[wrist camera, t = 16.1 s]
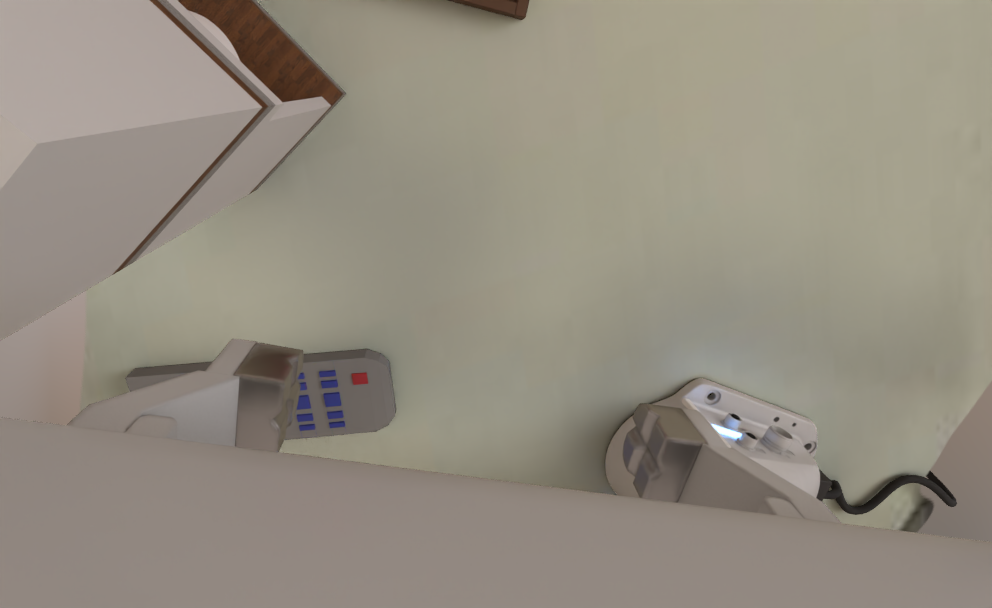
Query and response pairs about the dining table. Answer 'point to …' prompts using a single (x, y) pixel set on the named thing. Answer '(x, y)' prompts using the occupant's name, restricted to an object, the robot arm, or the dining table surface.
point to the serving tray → (500, 6)
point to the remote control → (319, 392)
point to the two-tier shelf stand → (134, 131)
